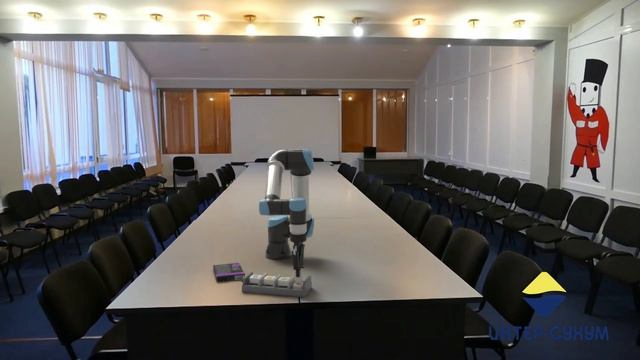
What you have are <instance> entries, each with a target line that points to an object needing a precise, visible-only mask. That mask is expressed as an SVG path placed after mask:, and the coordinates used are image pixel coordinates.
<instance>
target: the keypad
mask: <svg viewBox="0 0 640 360" xmlns="http://www.w3.org/2000/svg"><path fill="white" fill-rule="evenodd" d="M252 275H254V271H252V270H251V271H249V272H248V273H247V274H245V277H243V279H242V285H241V292H243V293H253V294H263V295H264V294H266V295H273V296H287V297H297V298H306V296H307V295H308V294H309V292H310V291H311V289H312V287H313V286H312V285H313V284H312V283H313V282H312V276H311V275H308V276H307V277H306V278H305V280H302V282H303V290H301V289H293V284H294V283H295V274H293V275H292V277H290V280H289V281H288V286H280V285H278V280H279V279H280V278H281V277H282V274H281V273H279V274H278V275H277V276H276V278H275V279H274V280H273V285H269V284H264V278H265V277H266V276H268V272H265V273H263V275H262V277H260V278H259V279H258V284H257V283H250V280H249V278H250V277H251V276H252Z"/></svg>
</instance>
